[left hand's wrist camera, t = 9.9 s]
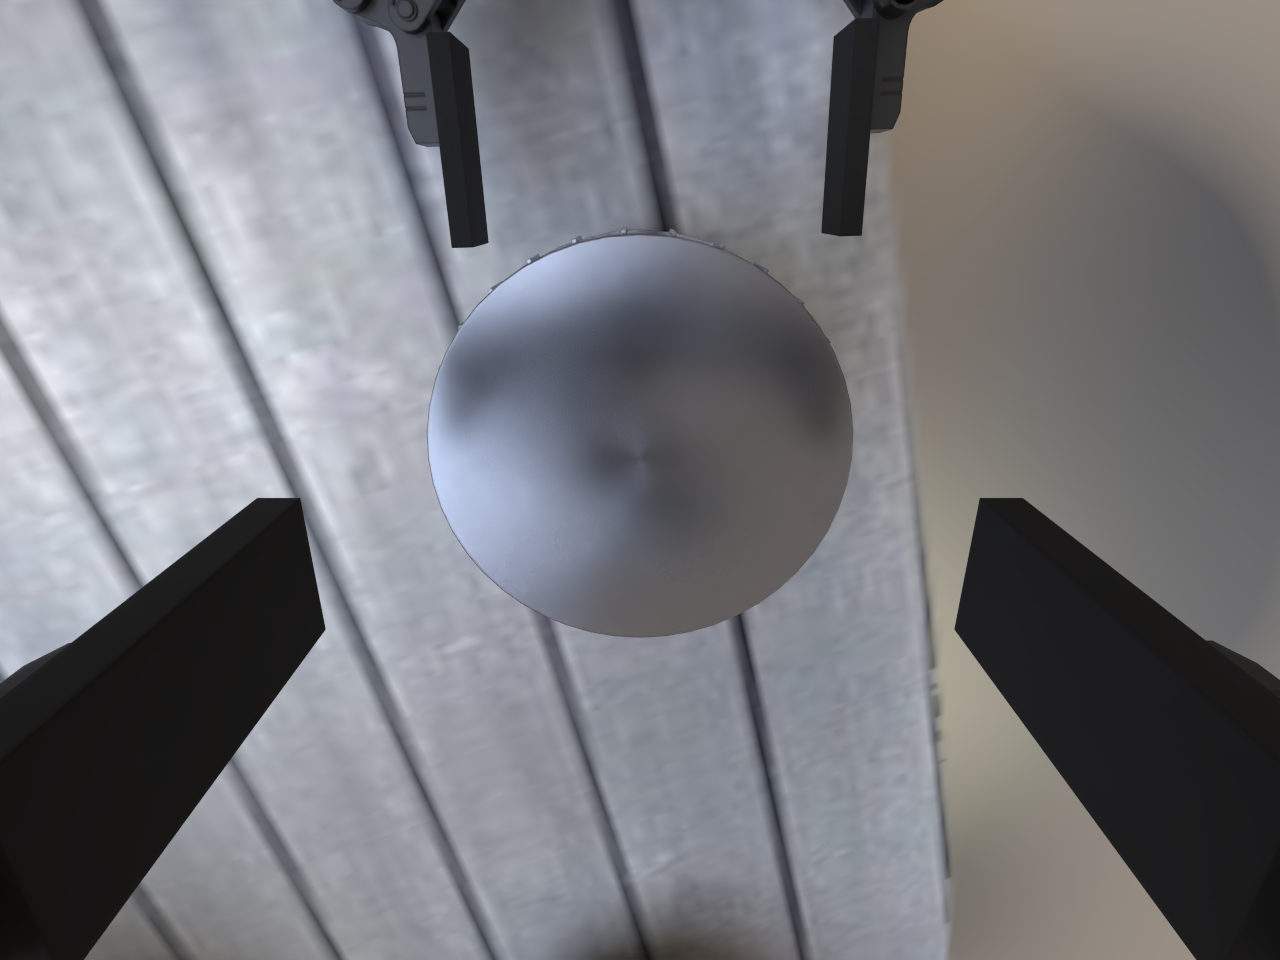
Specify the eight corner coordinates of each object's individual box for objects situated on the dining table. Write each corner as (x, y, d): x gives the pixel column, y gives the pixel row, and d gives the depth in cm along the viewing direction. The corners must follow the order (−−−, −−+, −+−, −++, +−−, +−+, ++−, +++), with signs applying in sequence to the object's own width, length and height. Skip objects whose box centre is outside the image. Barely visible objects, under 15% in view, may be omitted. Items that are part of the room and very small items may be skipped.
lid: (879, 526, 21) (905, 561, 19) (548, 644, 23) (539, 689, 21) (760, 155, 18) (776, 149, 16) (373, 327, 19) (340, 343, 17)
